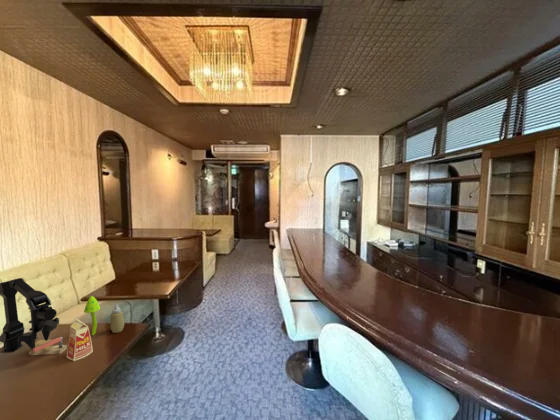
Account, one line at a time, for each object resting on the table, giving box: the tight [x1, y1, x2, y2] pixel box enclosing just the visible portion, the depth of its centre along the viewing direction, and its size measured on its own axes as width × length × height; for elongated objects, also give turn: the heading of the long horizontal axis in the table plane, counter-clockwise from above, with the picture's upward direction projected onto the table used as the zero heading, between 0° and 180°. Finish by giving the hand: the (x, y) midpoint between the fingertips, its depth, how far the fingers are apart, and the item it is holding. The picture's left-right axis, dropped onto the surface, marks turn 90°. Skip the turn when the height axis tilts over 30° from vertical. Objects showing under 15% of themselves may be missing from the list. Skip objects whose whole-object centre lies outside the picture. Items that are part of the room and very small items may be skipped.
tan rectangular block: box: [35, 338, 53, 351], centre depth 147 cm, size 6×4×4 cm
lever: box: [33, 336, 63, 352], centre depth 143 cm, size 13×2×2 cm, turn 157°
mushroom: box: [83, 295, 101, 336], centre depth 165 cm, size 8×8×25 cm
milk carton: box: [66, 318, 94, 362], centre depth 144 cm, size 9×9×20 cm
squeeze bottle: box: [109, 303, 125, 334], centre depth 170 cm, size 8×8×18 cm
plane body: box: [28, 340, 68, 356], centre depth 148 cm, size 16×5×6 cm, turn 95°
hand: (40, 344), depth 143 cm, fingers open, 8 cm apart
